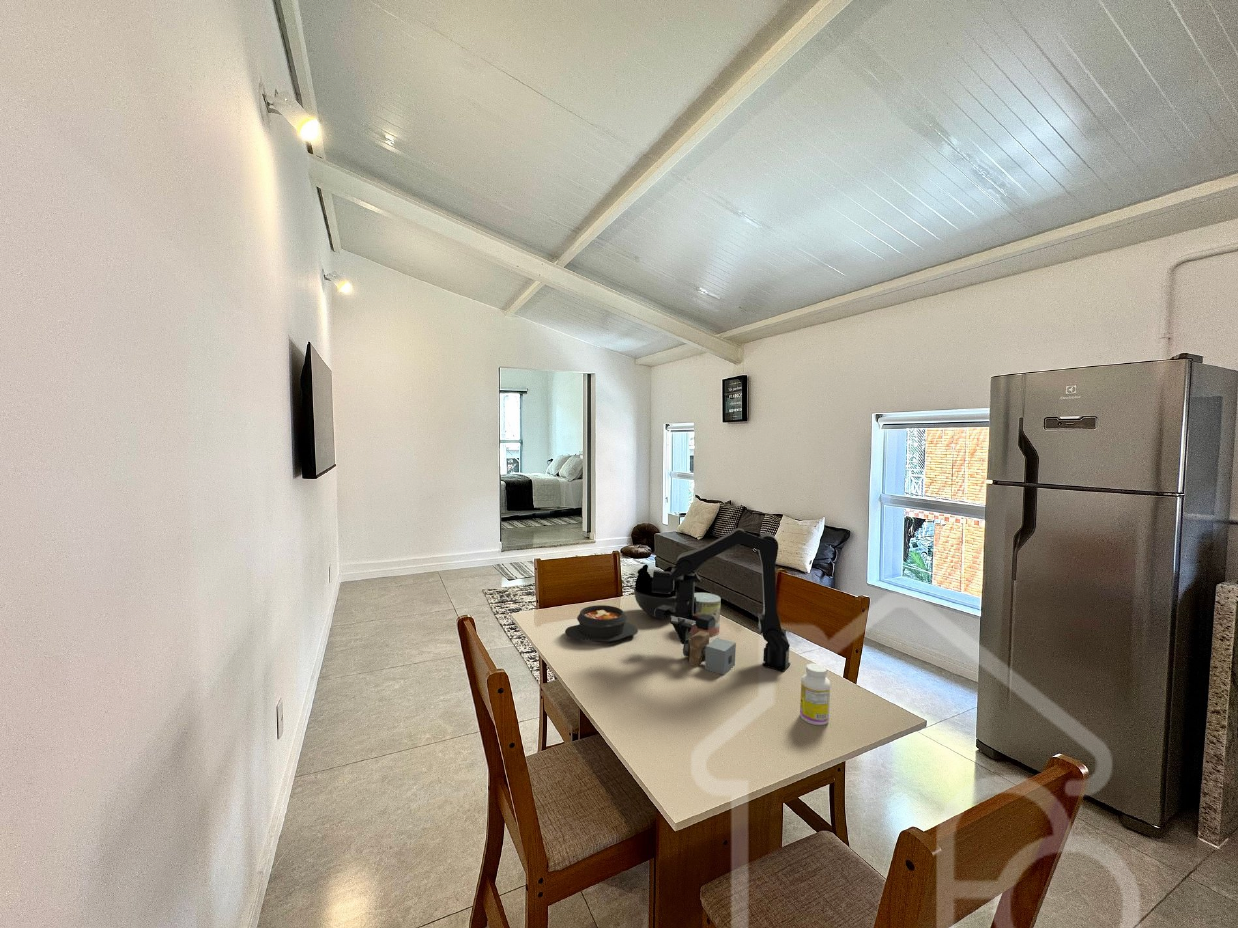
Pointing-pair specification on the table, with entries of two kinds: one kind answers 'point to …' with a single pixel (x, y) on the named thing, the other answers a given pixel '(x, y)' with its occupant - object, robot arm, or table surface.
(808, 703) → the supplement bottle
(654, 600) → the bowl of black rocks
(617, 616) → the casserole
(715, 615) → the canned food
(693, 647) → the block
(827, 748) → the table surface
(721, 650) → the block
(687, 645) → the shaft
